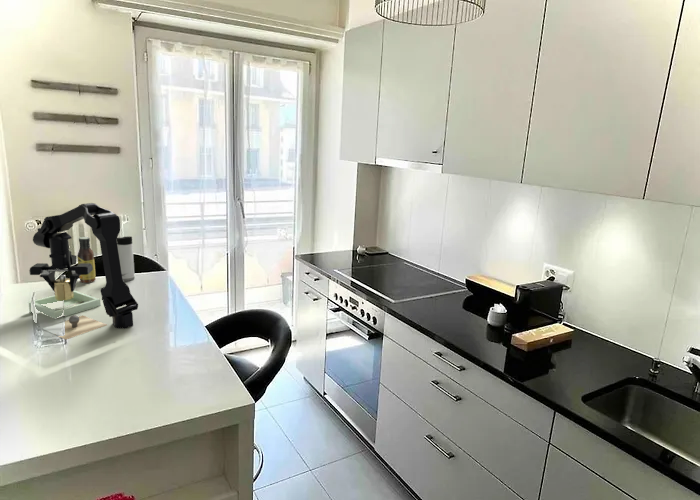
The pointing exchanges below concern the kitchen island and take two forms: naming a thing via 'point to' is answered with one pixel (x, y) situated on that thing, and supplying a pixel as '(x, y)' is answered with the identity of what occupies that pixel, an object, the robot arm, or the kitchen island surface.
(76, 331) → the stud plate
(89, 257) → the sauce bottle
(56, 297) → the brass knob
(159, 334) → the kitchen island surface
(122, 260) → the travel mug
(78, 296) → the bin
